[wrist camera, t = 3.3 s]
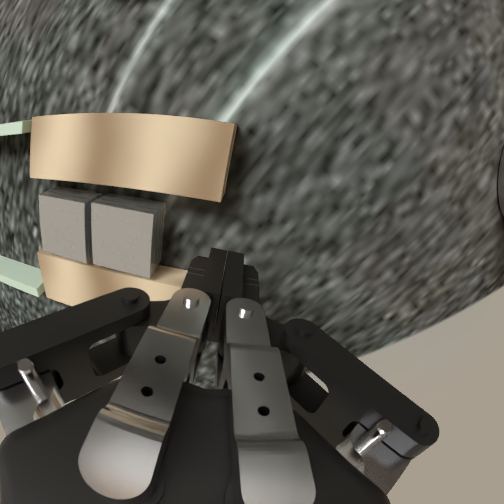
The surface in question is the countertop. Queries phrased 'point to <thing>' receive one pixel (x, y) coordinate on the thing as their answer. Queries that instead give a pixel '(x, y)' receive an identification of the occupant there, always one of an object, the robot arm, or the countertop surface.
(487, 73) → the countertop surface
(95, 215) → the metal chip
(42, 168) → the slot rails
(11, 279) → the box
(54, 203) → the metal chip
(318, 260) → the countertop surface
